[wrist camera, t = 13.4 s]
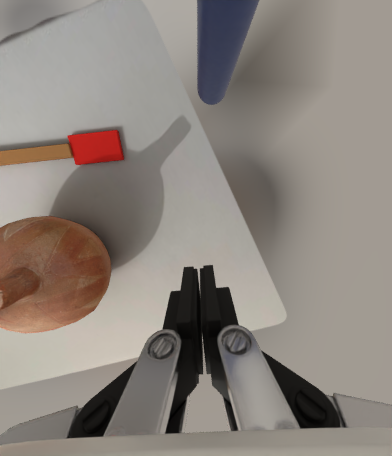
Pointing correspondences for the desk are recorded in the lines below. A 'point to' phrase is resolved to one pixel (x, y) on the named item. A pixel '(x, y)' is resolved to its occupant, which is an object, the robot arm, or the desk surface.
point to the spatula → (71, 150)
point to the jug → (49, 273)
